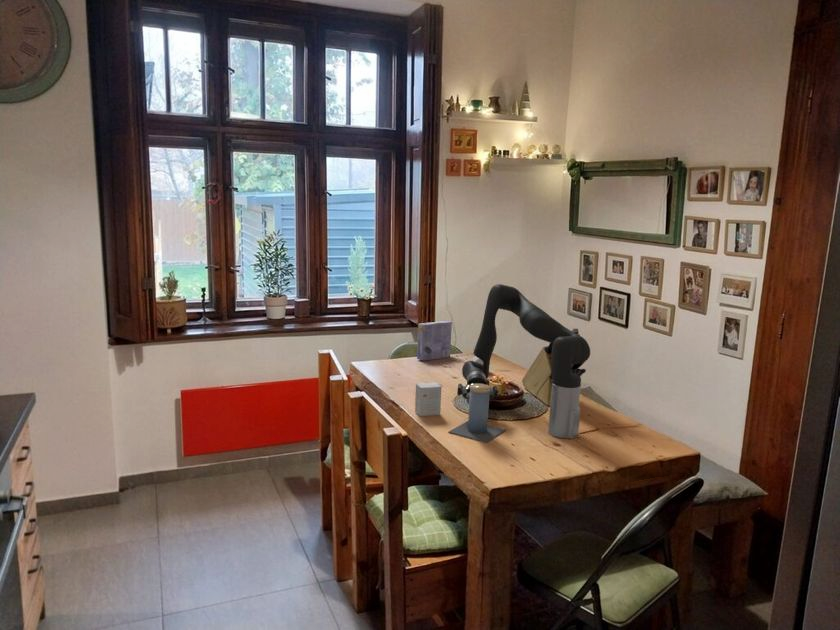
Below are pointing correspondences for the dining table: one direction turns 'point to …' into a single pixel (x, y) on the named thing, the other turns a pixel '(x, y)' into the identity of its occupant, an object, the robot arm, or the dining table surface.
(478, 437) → the mat
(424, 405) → the small box
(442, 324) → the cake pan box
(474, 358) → the die
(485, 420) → the jar
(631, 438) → the dining table surface
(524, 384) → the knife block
